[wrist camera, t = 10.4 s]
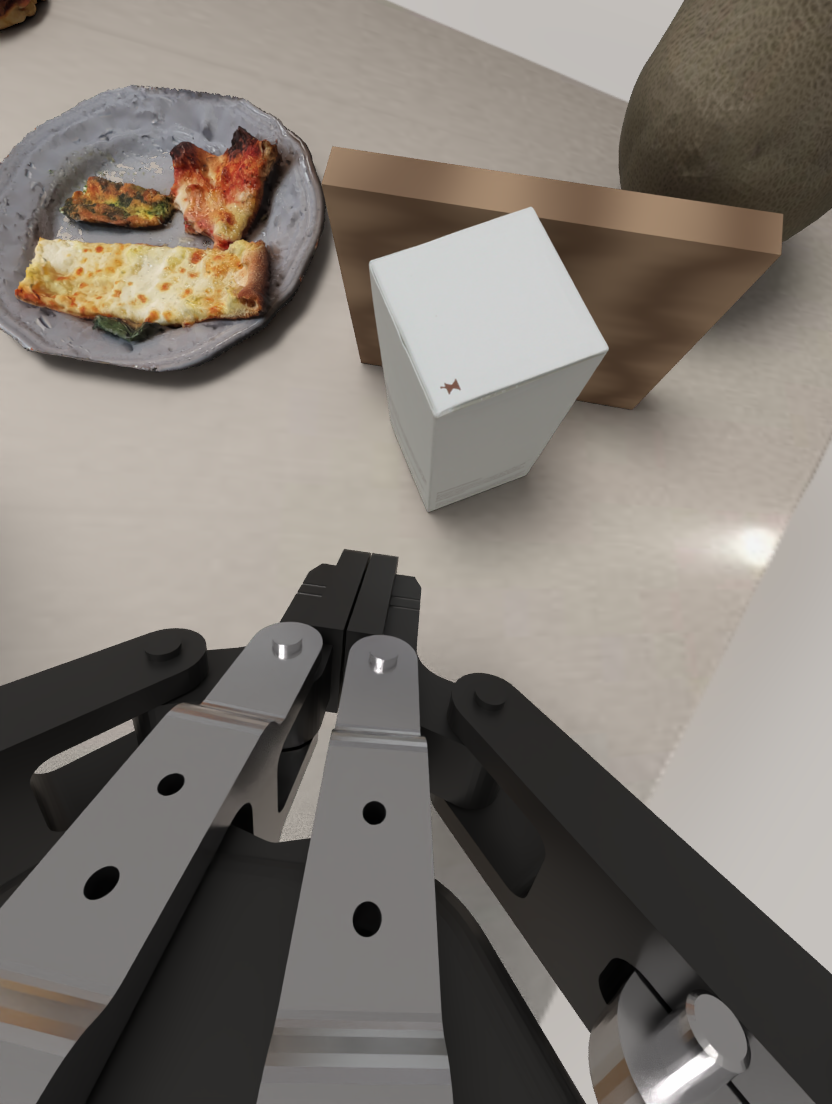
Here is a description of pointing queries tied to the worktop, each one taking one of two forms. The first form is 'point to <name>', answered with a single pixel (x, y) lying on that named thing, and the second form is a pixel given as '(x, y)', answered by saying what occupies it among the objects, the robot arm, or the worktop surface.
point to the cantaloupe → (737, 109)
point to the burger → (15, 11)
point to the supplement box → (480, 353)
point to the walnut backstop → (562, 252)
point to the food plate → (154, 228)
